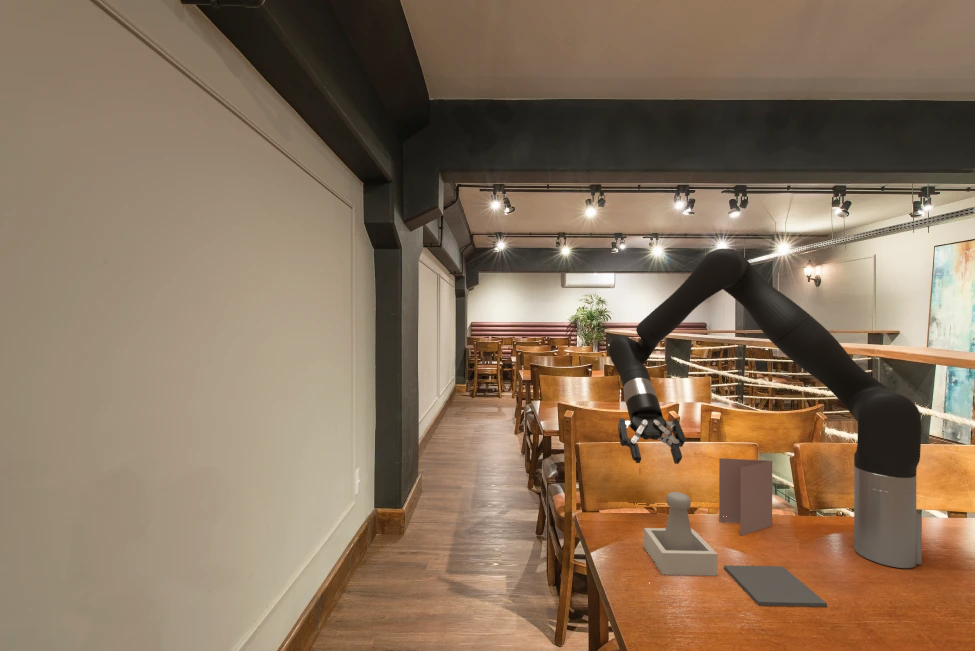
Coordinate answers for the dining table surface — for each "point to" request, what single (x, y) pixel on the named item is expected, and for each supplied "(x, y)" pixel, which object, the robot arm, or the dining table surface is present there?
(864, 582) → the dining table surface
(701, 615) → the dining table surface
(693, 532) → the collar
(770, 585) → the mat
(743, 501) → the greeting card
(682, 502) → the salt shaker
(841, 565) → the dining table surface
